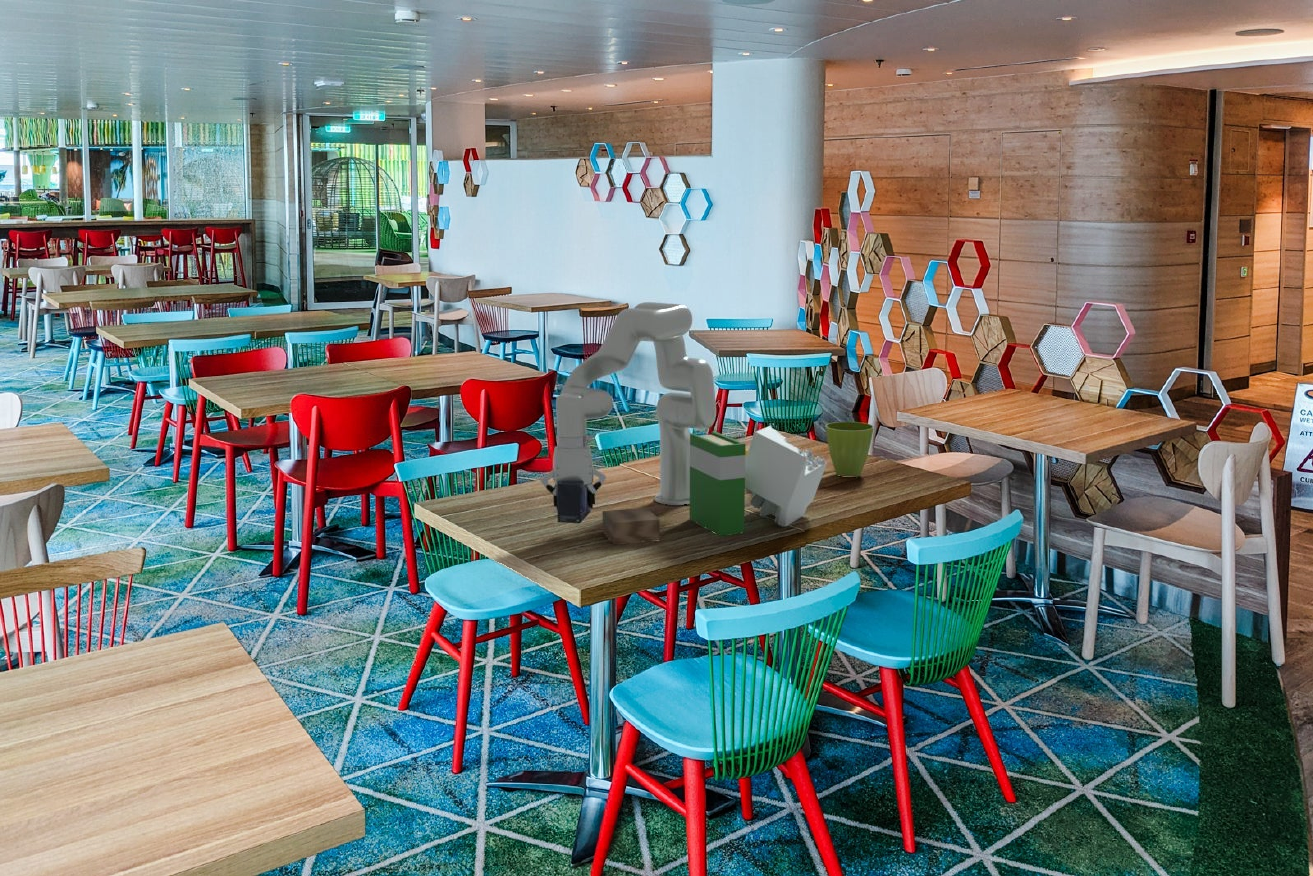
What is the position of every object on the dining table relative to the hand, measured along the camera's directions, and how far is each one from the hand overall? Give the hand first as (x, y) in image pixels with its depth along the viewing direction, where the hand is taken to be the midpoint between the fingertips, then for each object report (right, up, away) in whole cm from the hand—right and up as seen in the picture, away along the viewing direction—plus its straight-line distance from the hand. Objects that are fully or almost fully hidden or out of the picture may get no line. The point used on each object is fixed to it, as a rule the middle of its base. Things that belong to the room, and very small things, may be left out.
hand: (574, 507), depth 298 cm
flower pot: (+82, +6, +69) cm, 107 cm away
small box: (0, -3, +1) cm, 3 cm away
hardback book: (+37, -6, +13) cm, 40 cm away
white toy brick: (+55, -5, +19) cm, 59 cm away
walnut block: (+14, -8, +3) cm, 17 cm away
